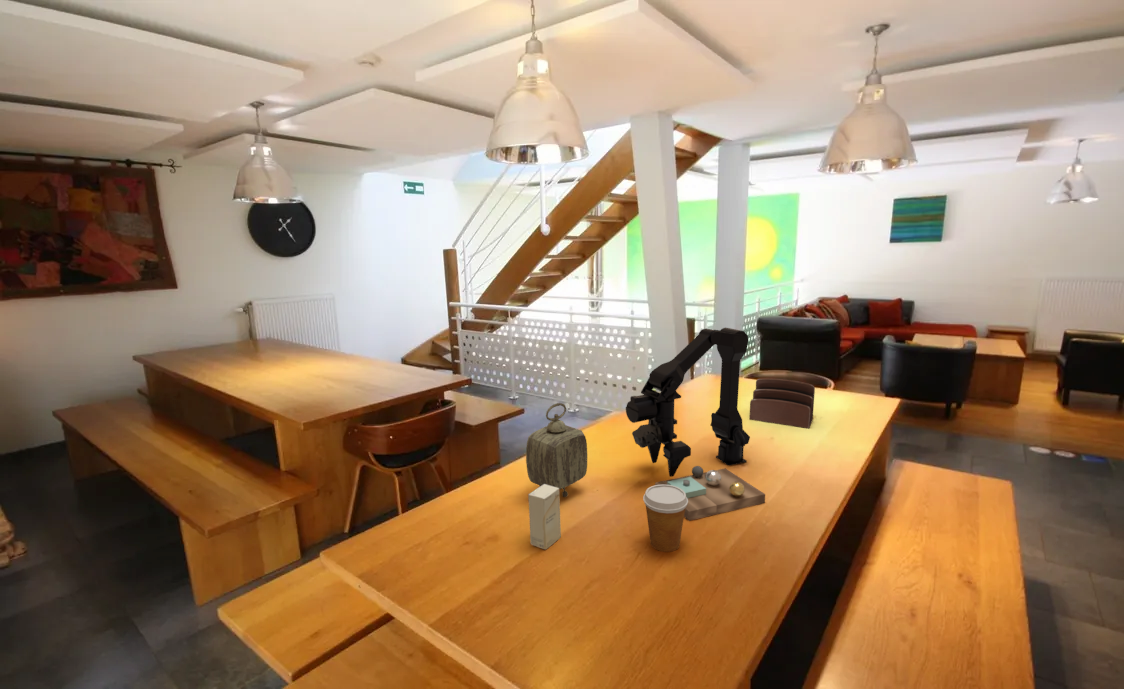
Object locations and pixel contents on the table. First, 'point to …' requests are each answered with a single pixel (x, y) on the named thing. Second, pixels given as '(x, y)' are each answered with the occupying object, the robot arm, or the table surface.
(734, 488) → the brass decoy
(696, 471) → the matte grey ball
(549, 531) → the skincare box
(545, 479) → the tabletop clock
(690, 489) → the cover
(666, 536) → the disposable coffee cup
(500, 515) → the table surface
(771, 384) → the letter holder
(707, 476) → the steel ball
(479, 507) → the table surface
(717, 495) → the board
